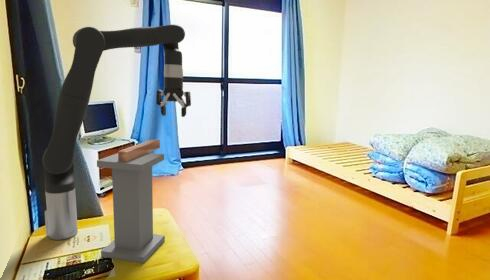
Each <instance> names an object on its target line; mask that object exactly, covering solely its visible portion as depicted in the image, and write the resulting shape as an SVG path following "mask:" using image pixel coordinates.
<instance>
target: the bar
mask: <svg viewBox="0 0 490 280" xmlns="http://www.w3.org/2000/svg"><path fill="white" fill-rule="evenodd" d="M160 146H161V141H160V139H152V138H151V139H150V140H146V141H144V142H141V143H138V144H135V145H132V146H129V147H126V148H124V149H121V150H118V152H117V153H118V161H130V160H132V159H134V158H137V157H139V156H142V155H144V154H146V153H152V152H153V151H156V150H159V149H160V148H161V147H160Z"/></svg>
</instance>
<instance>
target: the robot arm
mask: <svg viewBox="0 0 490 280" xmlns="http://www.w3.org/2000/svg"><path fill="white" fill-rule="evenodd" d="M185 37H186V31H185V29H184V27H182V26H181V25H179V24H175V23H174V24H165V25H159V26H142V27H141V26H140V27H131V28H126V29H120V30H119V29H118V30H99V29H98V28H96V27H92V26H84V27H82V28H80V29H78V30H76V32H74V34H73V36H72V45H73V47H74V53H73V59H72V64H71V66H70V69H69V70H68V72H67V74H66V76H65V78H64V81H63V83H62V86H61V88H60V91H59V95H58V98H57V102H56V108H55V113H54V121H53V128H52V129H53V130H52V134H51V137H50V140H49V143H48V146H47V148H46V149H45V150H44V153H43V155H42V158H41V159H42V160H41V161H42V165H43V169H44V170H43V171H44V191H45V193H44V194H45V202H46V210H44V223H45V224H44V225H45V234H46V237H48V238H49V239H50V240H55V241H56V240H57V241H59V240H67V239H69V238H70V239H71V238H73V237H74V236H77V234H78V231H79V230H78V218H77V217H78V213H77V212H78V211H77V198H76V182H75V181H76V180H75V179H76V178H75V164H74V163H75V161H74V156H75V148H76V142H77V138H78V135H79V132H80V130H81V127H82V125H83V122H84V119H85V117H86V113H87V110H88V106H89V102H90V99H91V94H92V92H93V91H92V89H93V86H94V81H95V74H96V70H97V67H98V64H99V62H100V60H101V57H102V54H103V53H104V52H105V51H108V50H115V49H121V48H122V49H125V48H142V47H143V48H144V47H153V46H155V47H156V46H158V45H162V49H163V51H164V52H163V53H164V59H163V60H164V62H163V63H164V67H163V88H164V89H163V90H162V89H158V90H156V99H155V100H156V105H157V106H159V107H160V114H161V116H167V107H166V105H167V104H168V103H169V102H175V103H178V104H180V106H181V115H180V116H181V117H182V118H184V117H185V116H187V108H188V107H191V105H192V102H191V101H192V98H191V91H189V90H188V91H184V84H183V83H184V74H183V73H184V70H183V53H182V51H181V50H180V47H179V43H181V42H182V41H183V40H184V39H185ZM163 96H165V97H163ZM183 96H184V97H185V100H184V98H183ZM162 98H163V99H162Z"/></svg>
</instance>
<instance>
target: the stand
mask: <svg viewBox="0 0 490 280" xmlns="http://www.w3.org/2000/svg"><path fill="white" fill-rule="evenodd" d="M164 160H165V153H158V152H157V153H155V152H154V153H153V152H149V153H146V154H144V155H142V156H139V157H137V158H134V159H132V160H130V161H118V152H117V153H114V154H111V155H109V156H105V157H103V158H100V159H97V160H96V167H97V168H104V169H111V179H112V180H111V181H112V183H111V184H112V202H113V203H112V205H113V206H112V207H113V230H114V231H113V232H114V233H113V235H114V236H113V238H114V240H113V241H111V242H110V243H109V244H108V245H107V246H104V248H103V249H101V250H100V256H101V257H102V258H108V259H109V258H110V259H115V260H122V261H128V262H134V263H140V264H145V262H147V261H148V260H149V258H150V257H151V256H152V255H153V254H154V253H155V252H156V251H157V250H158V249H159V247H160V246H161V245H162V244H163V243H164V242H166V241H165V240H166V238H165V237H166V236H165V235H166V234H165V235H164V234H157V233H154V222H153V221H154V216H153V215H154V214H153V213H154V209H153V208H154V207H153V204H154V203H153V202H154V201H153V166H156V165H157V164H159V163H161V162H163V161H164Z"/></svg>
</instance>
